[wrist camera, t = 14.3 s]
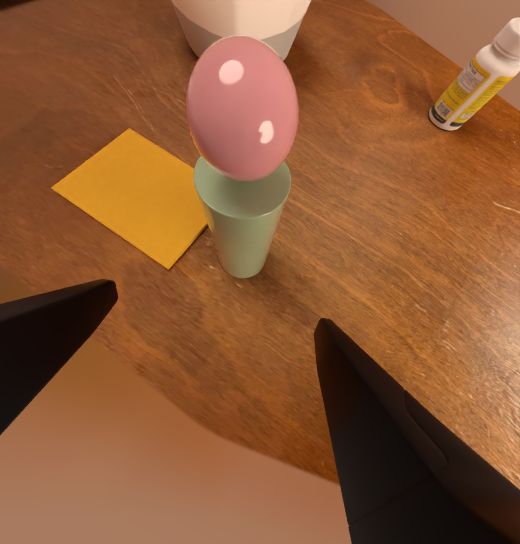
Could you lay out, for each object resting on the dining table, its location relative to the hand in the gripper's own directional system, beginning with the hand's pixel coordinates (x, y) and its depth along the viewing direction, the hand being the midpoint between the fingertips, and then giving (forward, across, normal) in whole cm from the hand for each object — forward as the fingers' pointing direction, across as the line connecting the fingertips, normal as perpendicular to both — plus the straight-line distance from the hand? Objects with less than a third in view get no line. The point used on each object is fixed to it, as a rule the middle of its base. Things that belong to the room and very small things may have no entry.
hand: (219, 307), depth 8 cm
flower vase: (+10, 0, +2) cm, 10 cm away
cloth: (+13, +11, -2) cm, 17 cm away
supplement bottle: (+28, -24, -16) cm, 41 cm away
